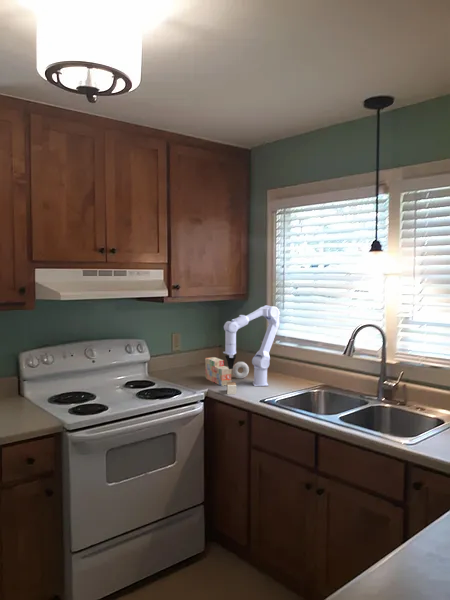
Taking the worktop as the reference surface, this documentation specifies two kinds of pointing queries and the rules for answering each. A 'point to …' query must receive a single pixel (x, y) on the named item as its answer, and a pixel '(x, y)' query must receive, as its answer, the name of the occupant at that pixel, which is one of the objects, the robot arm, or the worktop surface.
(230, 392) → the walnut block
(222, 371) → the stack of blocks
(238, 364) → the donut
